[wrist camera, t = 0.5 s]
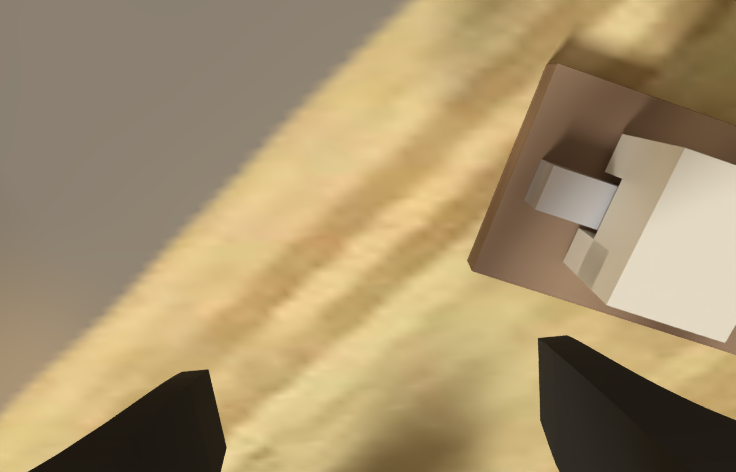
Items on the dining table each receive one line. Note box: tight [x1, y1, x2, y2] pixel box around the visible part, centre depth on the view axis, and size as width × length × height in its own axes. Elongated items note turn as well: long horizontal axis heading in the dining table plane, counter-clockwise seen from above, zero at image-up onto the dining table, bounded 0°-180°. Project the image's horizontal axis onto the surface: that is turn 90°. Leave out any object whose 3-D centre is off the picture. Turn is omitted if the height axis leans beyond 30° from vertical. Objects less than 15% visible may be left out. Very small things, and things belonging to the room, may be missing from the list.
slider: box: [563, 134, 736, 343], centre depth 17 cm, size 4×5×4 cm
